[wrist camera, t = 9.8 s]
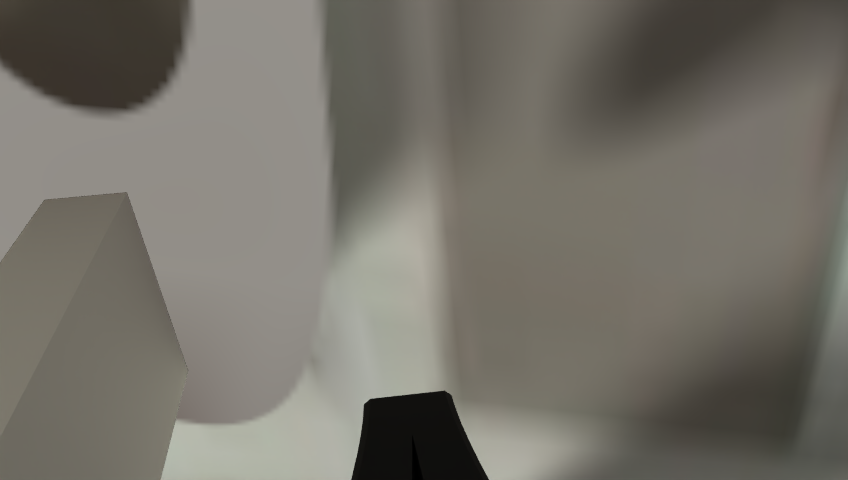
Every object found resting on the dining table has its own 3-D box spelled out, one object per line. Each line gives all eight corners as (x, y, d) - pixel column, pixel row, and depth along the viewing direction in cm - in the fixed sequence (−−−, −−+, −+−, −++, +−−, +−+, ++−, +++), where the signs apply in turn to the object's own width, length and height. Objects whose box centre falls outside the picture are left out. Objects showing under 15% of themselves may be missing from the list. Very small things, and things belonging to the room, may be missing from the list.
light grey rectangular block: (126, 192, 13) (-33, 500, 8) (188, 371, 16) (105, 694, 10) (44, 199, 13) (-180, 518, 8) (120, 378, 16) (-1, 708, 10)
